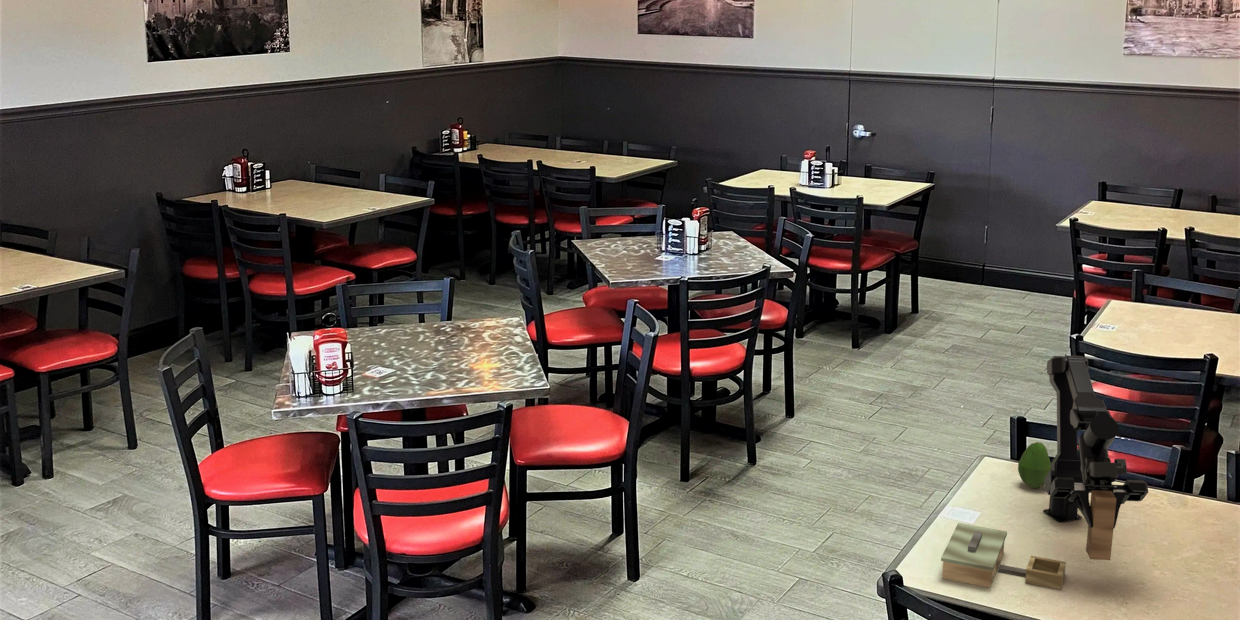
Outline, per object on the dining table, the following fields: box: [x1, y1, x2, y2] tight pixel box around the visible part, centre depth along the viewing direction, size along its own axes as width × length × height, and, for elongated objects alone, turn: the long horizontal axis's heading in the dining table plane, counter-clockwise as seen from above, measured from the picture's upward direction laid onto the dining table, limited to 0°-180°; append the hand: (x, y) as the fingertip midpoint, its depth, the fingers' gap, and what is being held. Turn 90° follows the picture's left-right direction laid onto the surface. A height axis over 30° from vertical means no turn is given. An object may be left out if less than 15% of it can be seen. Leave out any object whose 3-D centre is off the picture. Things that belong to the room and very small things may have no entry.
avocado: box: [1017, 441, 1051, 489], centre depth 290 cm, size 8×8×12 cm
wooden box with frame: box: [940, 522, 1067, 590], centre depth 248 cm, size 19×24×6 cm
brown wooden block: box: [1085, 490, 1116, 561], centre depth 240 cm, size 4×4×14 cm
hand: (1102, 527), depth 239 cm, fingers closed on brown wooden block, 4 cm apart
